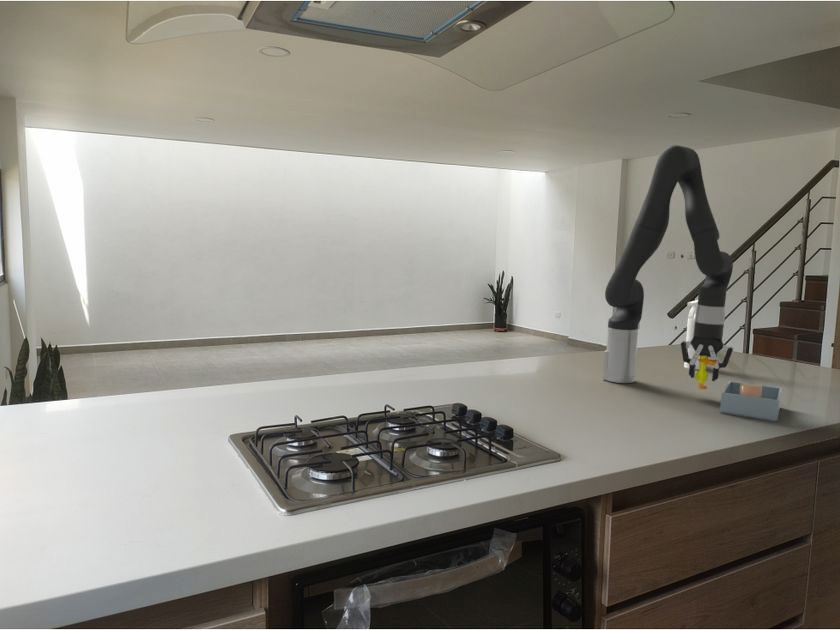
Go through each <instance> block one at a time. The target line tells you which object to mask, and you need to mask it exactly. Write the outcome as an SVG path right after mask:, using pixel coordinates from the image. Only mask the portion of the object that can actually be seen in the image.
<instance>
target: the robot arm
mask: <svg viewBox="0 0 840 630" xmlns="http://www.w3.org/2000/svg"><path fill="white" fill-rule="evenodd" d="M677 184H679V186H680V189H681V192H682V195H683V199H684V212H685V213H684V215H685V222H686V225H687V229H688V231H689V234H690V237H691V239H692V242H693V250H694V255H695V256H694V257H695V261H696V262H695V263H696V265H697V267H698V269H699V271H700V272H701V274H703V275H704V276H705V279H704V283H703V284H702V285H701V286H700V287H699V290H698V297H697V300H698V305H697V309H696V315H695V325H694V334H693V339H692V340H691V341H687V342H686V340H684V341H682V342H680V347H681V349H680V350H681V355H682V361H683V362H687V363H688V364H689V365H690V367H689V369H688V375H689V377H690V378H691V379H694V378H695V372H696V369H695V368H696V365H695V362H696V361H697V359H698V357H699V356H708V358H711V360H712V361H714V362H717V363H716V364H715V365H713V369H712V376H711V377H712V378H711V382H716V380H718V378H719V375H720V369H722V368H726V367H727V366H728V365H729V361H730V359H731V356H732V354H733V352H734V347H733V346H728V345H725V344H724V341H723V335H724V327H725V321H726V318H725V317H726V316H725V315H726V312H725V310H726V309H725V308H726V300H727V290H728V286H729V285H730V281H731V278H732V274H733V269H734V262H733V258H732V256H731V255H730V254H729V253H727V252H725V251H722V250H720V249H721V248H720V247H719V242H718V240H719V239H720V231H719V228H718V226H717V223H716V221H715V218H714V215H713V213H712V209H711V207H710V204H709V199H708V196H707V192H706V188H705V184H704V179H703V172H702V165H701V160H700V156H699V155H698V153H697V151H695V149H692V148H690V147H687V146H682V145H677V144H674V145H670V146H668V147H666V148H665V149H663V150H662V152H661V153H660V154H659V156H658V158H657V161H656V164H655V167H654V170H653V174H652V177H651V181H650V184H649V187H648V190H647V193H646V196H645V198H644V201H643V204H641V205H642V206H641V208H640V211H639V213H638V216H637V218H636V220H635V222H634V225H633V228H632V230H631V233H630V235H629V237H628V240H627V243H626V245H625V247H624V250H623V252H622V255H621V257H620V259H619V262H618V264H617V266H616V268H615V269H614V272H613V273H612V275H611V277H610V279H609V280H608V283H607V285H606V287H605V294H604V296H605V300H606V303H607V304H608V305H609V307H612V308H616V311H615V312H614V314H613V315H612V316H611V317H610V318H608V321H607V337H606V339H607V340H606V350H604V355H603V370H602V372H603V373H602V380H604V381H608V382H611V383H617V384H631V383H632V384H633V383H634V382H635V378H636V377H635V376H636V365H637V364H636V363H637V347H638V333H639V325H640V322H641V320H642V318H643V317H642V316H643V310H644V307H643V306H644V301H645V292H644V287H643V285H642V282H640V281H639V280H638V279H637V276H638V274H639V272H640V270H641V269H642V268H643V266H644V265H645V264H646V263H647V261H649V260H650V258H651V257H652V256H653V255H654V254H655V252H656V251H657V250H658V248H660V245H661V243H662V241H663V239H664V237H665V234H666V232H667V229H668V227H669V221H670V210H671V209H670V207H671V206H670V205H671V199H672V195H673V193H674V191H675V188H676V186H677ZM690 345H692V347H693V348H694V350H695V351H696V352H695V353H694V355H693V357H692V359H690V358H689V355H688V348H689V347H690ZM722 349H723V353H724V354H725V356H724V357H723V361H722V362H720V360H719V355H718V353H719V352H720V351H721V350H722Z"/></svg>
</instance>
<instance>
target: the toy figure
mask: <svg viewBox="0 0 840 630" xmlns="http://www.w3.org/2000/svg"><path fill="white" fill-rule="evenodd" d="M698 361H699V364H700V370H698V371H695V377H694V378H695V379H696V381H697V383H698V386H697V389H700V390H707V389H708V387H707V386H706V385H704V384H705V383H706V382H707V380H708V378H709V377H708V376H709V375H708V372H707V371H706V369H707V365H708V366H714V365H715V364H716V363H717V362H714V361H712V359H709V357H708V356H700V359H698Z"/></svg>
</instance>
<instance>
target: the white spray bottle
mask: <svg viewBox="0 0 840 630" xmlns="http://www.w3.org/2000/svg"><path fill="white" fill-rule="evenodd" d="M697 305H698V299H696V300H692V301H688V302H687V305H686V306H690V307H691V308H690V309H689V312H688V315H687V327H686V337H685V339H686V340H685V341H686V342H687V341H691V340H692V339H693V334H694V325H695V315H696V309H697ZM695 352H696V351H695V350H694V348H693V347H692V345H690V347H689V348H688V355H689V358H690V359H692V357H693V355H694V353H695ZM698 359H700V356H699V357H698ZM698 359H697V361H696V362H695V365H696V368H695V370H698V371H699V370H700V364H699V361H698ZM683 362H684V361H683ZM683 364H684V365H683V367H684V368H685V369H688V370H689V367H690V365H689V364H688V363H687V362H684V363H683Z"/></svg>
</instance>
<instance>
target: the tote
mask: <svg viewBox="0 0 840 630" xmlns="http://www.w3.org/2000/svg"><path fill="white" fill-rule="evenodd" d="M740 384H748V383H746V382H738V381H730V380H729V381H728V382H727V384H726V386H725V387H724V388H723V390H722V391H721V396H720V407H719V413H720V414H725V415H731V416H737V417H743V418H748V419H749V418H750V419H755V420H760V421H761V420H762V421H766V422H767V421H768V422H775V423H778V420H779V419H778V418H779V414H780V409H781V400H782V392H783V391H782V390H783V388H782V387H776V386H768V385H761V384H759V385H760V386H762V395H761V398H758V397H751V396H744V395H740Z"/></svg>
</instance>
